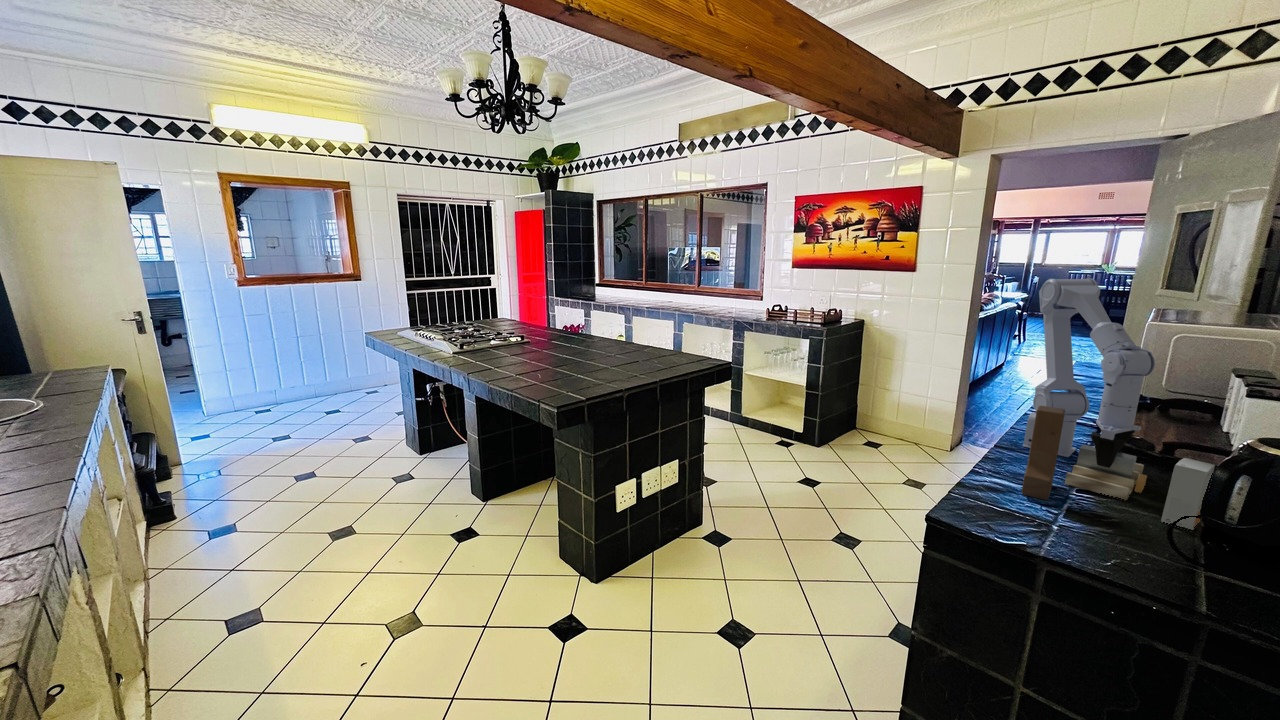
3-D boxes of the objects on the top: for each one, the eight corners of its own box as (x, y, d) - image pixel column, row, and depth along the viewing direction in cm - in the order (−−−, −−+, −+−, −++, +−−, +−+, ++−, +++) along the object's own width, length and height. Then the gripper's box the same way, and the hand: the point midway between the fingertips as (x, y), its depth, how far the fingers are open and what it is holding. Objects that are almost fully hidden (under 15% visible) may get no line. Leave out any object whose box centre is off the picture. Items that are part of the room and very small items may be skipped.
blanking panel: (1075, 471, 114) (1079, 447, 112) (1078, 468, 116) (1082, 444, 114) (1128, 485, 107) (1134, 460, 106) (1131, 481, 109) (1136, 456, 107)
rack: (1064, 483, 110) (1066, 472, 109) (1084, 461, 120) (1086, 451, 120) (1135, 503, 101) (1137, 491, 100) (1149, 477, 112) (1152, 466, 111)
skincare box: (1192, 532, 90) (1208, 472, 88) (1160, 522, 94) (1173, 464, 91) (1201, 522, 93) (1216, 464, 91) (1169, 513, 97) (1182, 456, 94)
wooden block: (1047, 501, 102) (1062, 419, 98) (1020, 494, 105) (1033, 415, 101) (1051, 486, 109) (1065, 408, 105) (1026, 480, 112) (1038, 404, 108)
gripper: (1138, 415, 100) (1125, 476, 103) (1150, 401, 108) (1138, 458, 111) (1092, 407, 105) (1081, 465, 108) (1107, 394, 114) (1096, 448, 117)
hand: (1107, 461), depth 110 cm, fingers open, 7 cm apart
